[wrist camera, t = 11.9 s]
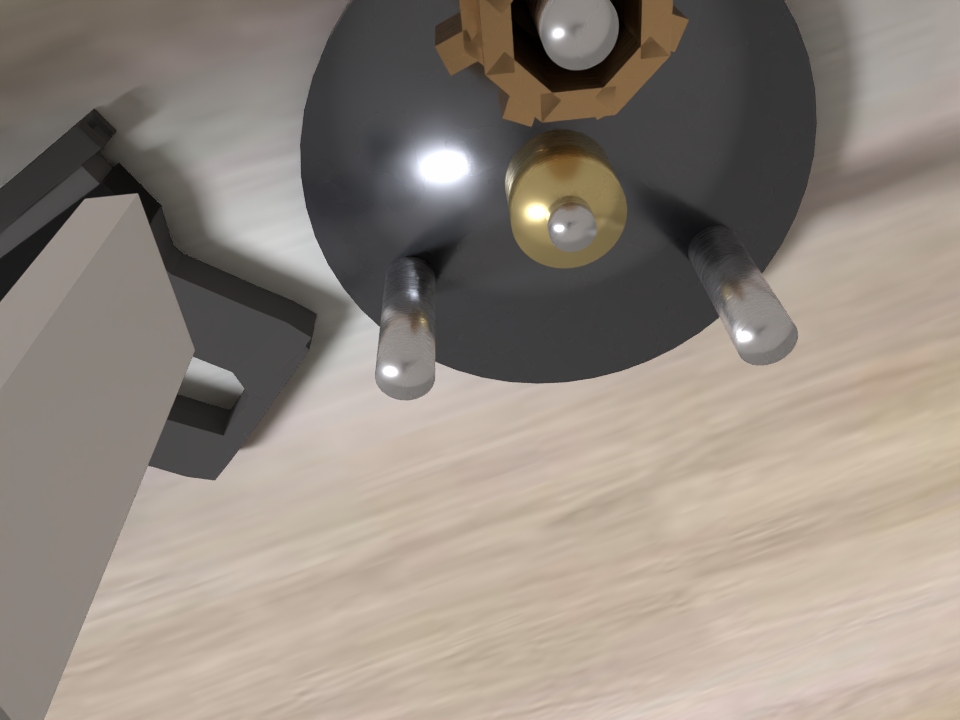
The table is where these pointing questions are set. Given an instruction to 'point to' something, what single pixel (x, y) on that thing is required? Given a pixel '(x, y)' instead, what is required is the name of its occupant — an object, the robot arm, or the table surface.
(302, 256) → the table surface
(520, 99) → the planet gear
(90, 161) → the pistol
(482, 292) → the carrier
